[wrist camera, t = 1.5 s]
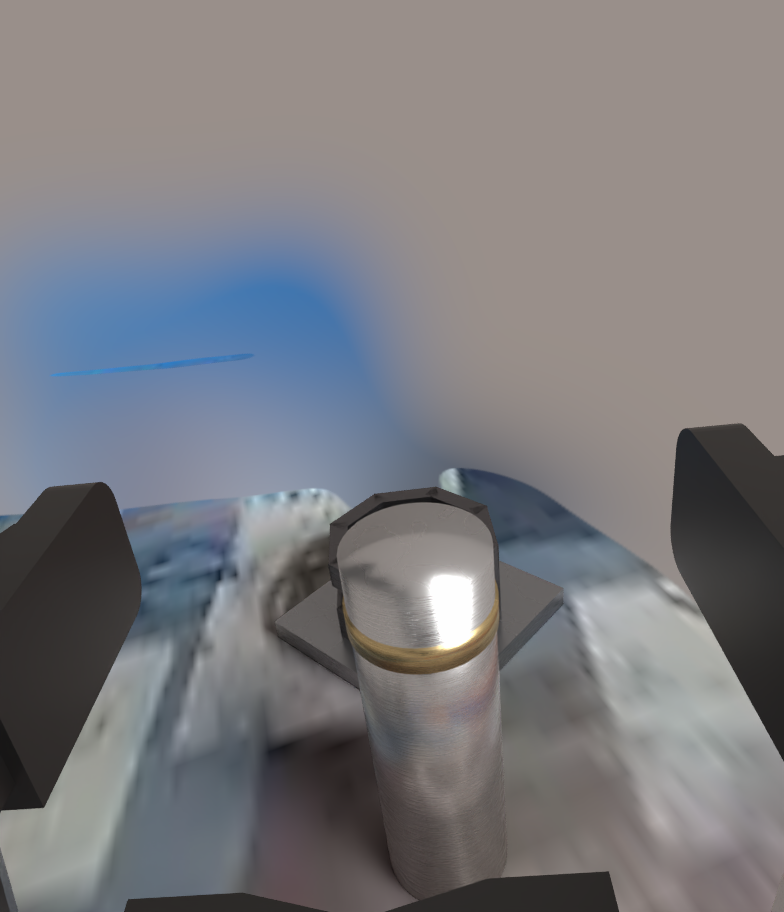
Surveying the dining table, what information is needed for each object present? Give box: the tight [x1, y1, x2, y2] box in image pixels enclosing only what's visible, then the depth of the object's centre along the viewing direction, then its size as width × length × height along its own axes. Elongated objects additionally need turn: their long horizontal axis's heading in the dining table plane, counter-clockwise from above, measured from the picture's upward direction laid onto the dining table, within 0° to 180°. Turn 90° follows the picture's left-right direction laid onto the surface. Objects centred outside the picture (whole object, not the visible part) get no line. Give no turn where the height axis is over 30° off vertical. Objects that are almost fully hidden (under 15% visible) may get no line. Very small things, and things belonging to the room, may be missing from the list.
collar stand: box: [275, 487, 563, 689], centre depth 42 cm, size 12×12×6 cm
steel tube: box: [337, 503, 507, 900], centre depth 28 cm, size 5×5×16 cm
